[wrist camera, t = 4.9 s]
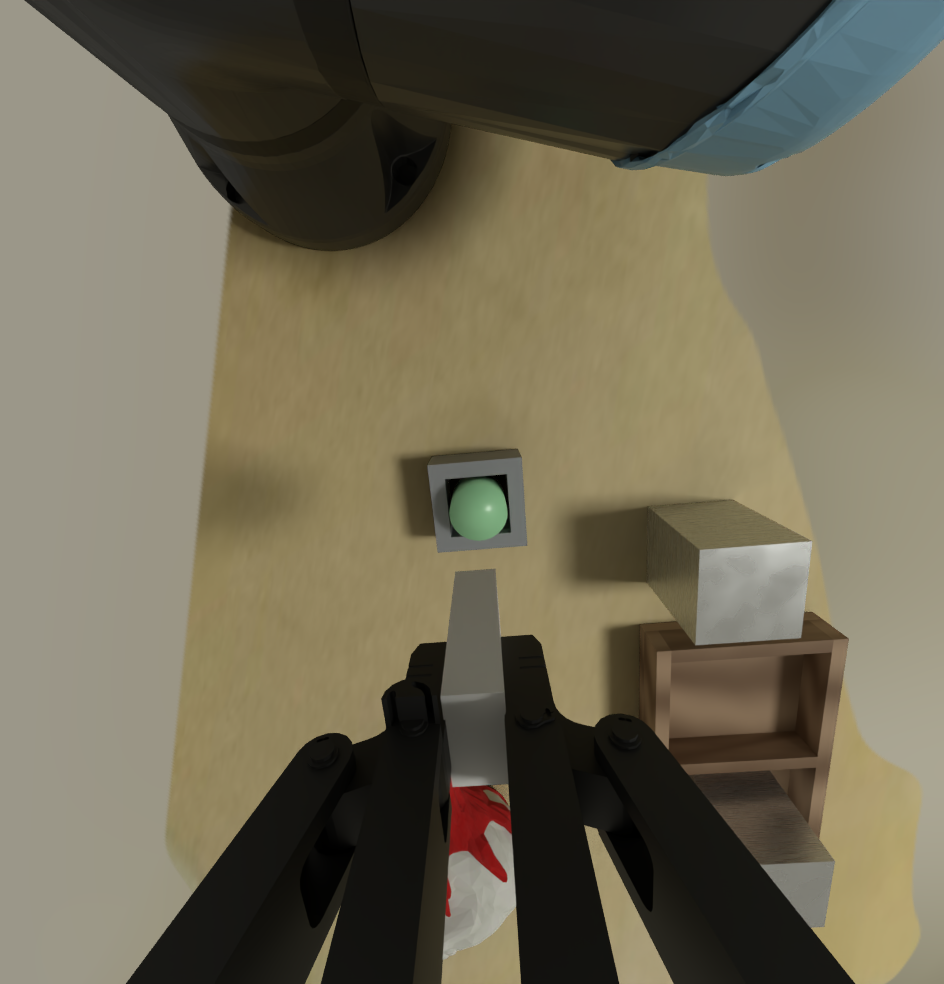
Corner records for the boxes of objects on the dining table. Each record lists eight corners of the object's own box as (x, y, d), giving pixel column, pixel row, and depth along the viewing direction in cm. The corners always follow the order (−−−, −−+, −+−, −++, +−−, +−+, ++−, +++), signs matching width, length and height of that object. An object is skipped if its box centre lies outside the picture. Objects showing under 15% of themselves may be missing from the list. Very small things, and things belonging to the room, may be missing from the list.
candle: (433, 884, 42) (375, 745, 40) (550, 856, 41) (495, 711, 39) (415, 1009, 33) (339, 837, 31) (563, 978, 32) (493, 797, 30)
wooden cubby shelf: (639, 624, 35) (657, 651, 32) (812, 612, 34) (848, 638, 31) (638, 831, 40) (652, 873, 37) (786, 823, 40) (815, 865, 37)
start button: (450, 474, 31) (446, 487, 28) (502, 470, 31) (505, 483, 27) (455, 524, 32) (452, 542, 29) (506, 520, 32) (509, 538, 28)
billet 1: (647, 506, 32) (699, 549, 25) (732, 499, 32) (812, 541, 25) (646, 582, 34) (695, 645, 26) (727, 576, 34) (800, 638, 26)
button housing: (432, 456, 32) (427, 465, 29) (517, 448, 31) (521, 457, 29) (441, 536, 33) (437, 552, 30) (522, 529, 33) (527, 545, 30)
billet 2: (685, 762, 37) (740, 865, 29) (760, 757, 37) (834, 861, 29) (683, 818, 39) (734, 930, 31) (755, 814, 38) (824, 926, 31)
